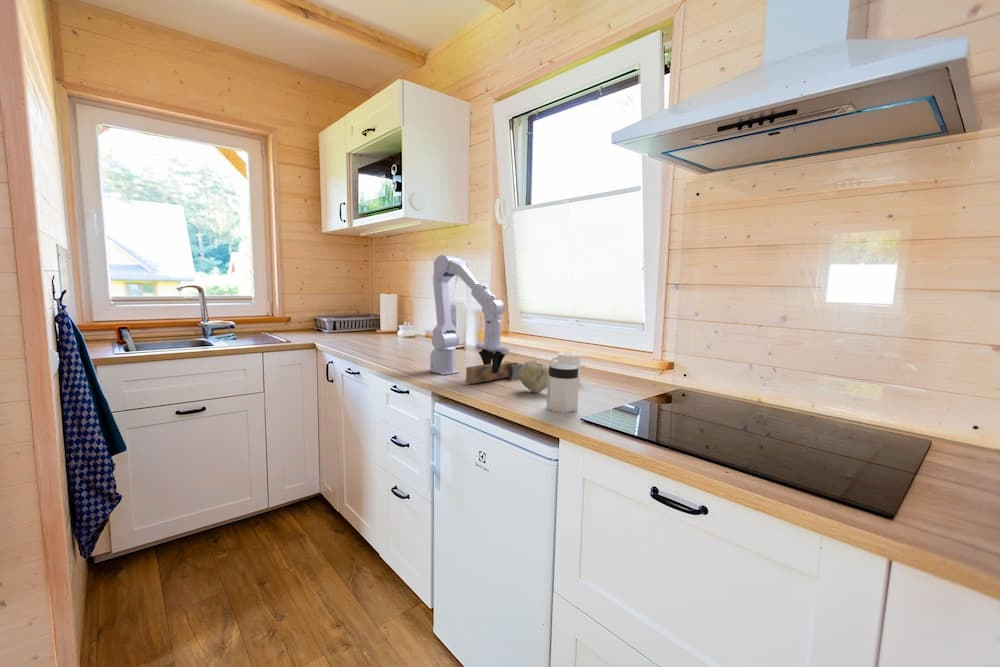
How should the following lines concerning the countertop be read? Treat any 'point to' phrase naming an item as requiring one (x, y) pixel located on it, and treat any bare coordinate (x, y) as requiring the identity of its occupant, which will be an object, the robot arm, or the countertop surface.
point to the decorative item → (534, 375)
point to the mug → (568, 359)
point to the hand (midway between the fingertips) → (491, 371)
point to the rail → (487, 372)
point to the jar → (562, 388)
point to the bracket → (514, 371)
